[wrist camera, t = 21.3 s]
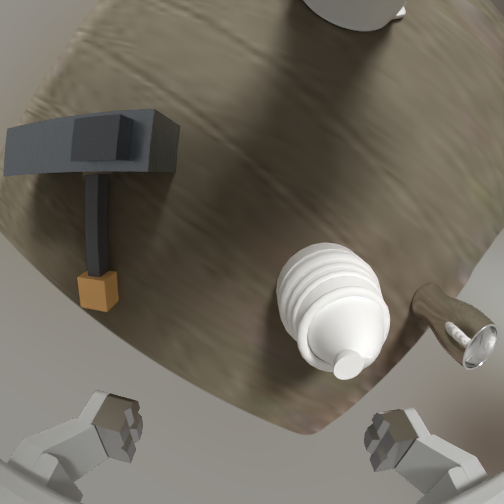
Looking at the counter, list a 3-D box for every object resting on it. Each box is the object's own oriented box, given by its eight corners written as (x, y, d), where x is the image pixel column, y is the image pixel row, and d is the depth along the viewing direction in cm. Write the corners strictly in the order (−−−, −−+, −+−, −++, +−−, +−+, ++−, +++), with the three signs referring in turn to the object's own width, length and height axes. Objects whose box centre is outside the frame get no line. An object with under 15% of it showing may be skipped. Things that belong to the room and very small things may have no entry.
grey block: (51, 133, 32) (-9, 127, 20) (180, 125, 33) (143, 101, 20) (48, 172, 34) (-13, 178, 21) (175, 172, 34) (135, 171, 22)
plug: (89, 174, 34) (74, 175, 30) (116, 174, 34) (102, 174, 30) (93, 296, 39) (81, 306, 35) (118, 300, 39) (107, 312, 35)
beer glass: (445, 277, 38) (506, 317, 23) (438, 316, 40) (490, 364, 25) (412, 282, 38) (471, 328, 23) (405, 323, 40) (454, 378, 25)
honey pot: (265, 321, 39) (273, 416, 22) (290, 232, 36) (324, 283, 19) (348, 335, 40) (394, 420, 23) (378, 254, 37) (455, 310, 20)
